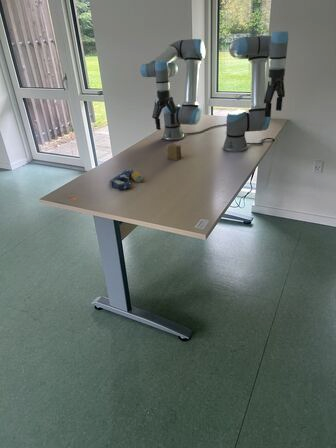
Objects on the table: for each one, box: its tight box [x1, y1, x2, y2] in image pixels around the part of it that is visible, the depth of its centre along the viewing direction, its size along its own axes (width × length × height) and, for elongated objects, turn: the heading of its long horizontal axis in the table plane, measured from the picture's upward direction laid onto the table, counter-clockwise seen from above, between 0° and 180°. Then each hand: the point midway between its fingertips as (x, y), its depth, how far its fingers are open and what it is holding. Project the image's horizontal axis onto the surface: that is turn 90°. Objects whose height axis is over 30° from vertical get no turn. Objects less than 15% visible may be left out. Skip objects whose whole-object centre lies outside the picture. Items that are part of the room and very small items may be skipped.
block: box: [166, 143, 182, 161], centre depth 210 cm, size 5×7×8 cm
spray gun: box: [108, 168, 143, 191], centre depth 184 cm, size 21×4×15 cm
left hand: (165, 126), depth 206 cm, fingers open, 13 cm apart
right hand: (273, 113), depth 171 cm, fingers open, 13 cm apart
